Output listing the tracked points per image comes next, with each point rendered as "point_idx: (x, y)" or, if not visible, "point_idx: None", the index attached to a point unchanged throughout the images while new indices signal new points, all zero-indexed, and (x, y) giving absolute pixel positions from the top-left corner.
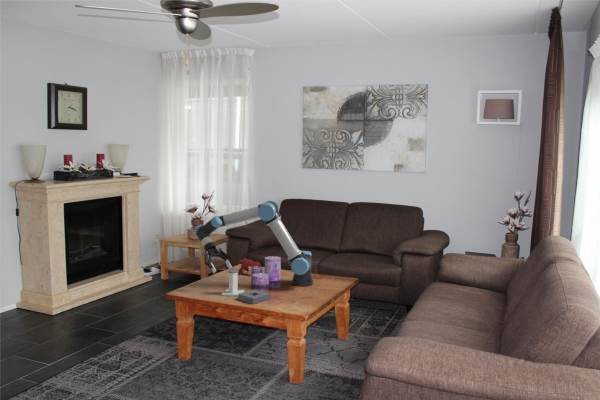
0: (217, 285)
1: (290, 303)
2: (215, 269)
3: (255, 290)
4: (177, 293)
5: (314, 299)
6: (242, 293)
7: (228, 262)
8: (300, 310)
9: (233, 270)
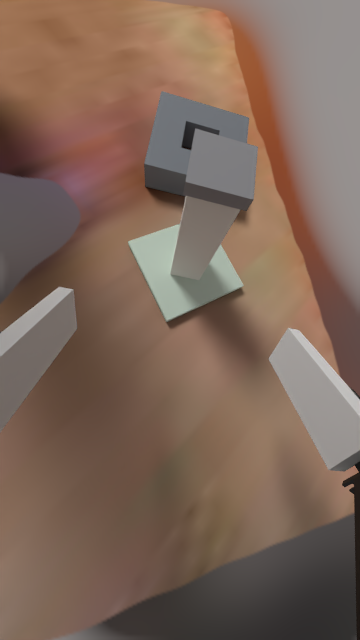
0: (112, 437)
1: (155, 57)
2: (298, 338)
3: (153, 155)
4: None
5: (64, 9)
6: None
7: (21, 340)
8: (195, 22)
9: (212, 168)
